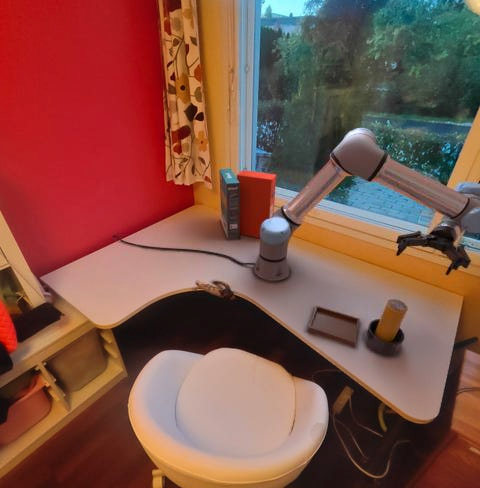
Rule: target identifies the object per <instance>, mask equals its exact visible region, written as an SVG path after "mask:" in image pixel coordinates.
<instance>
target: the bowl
mask: <svg viewBox="0 0 480 488" xmlns="http://www.w3.org/2000/svg"><path fill="white" fill-rule="evenodd" d="M380 319H381V318H376V319H373V320H371V321H370V322H369V323H368V326H367V329H366V331H365V334H364V342H365V345H366V346H367V347H368V348H369V349H370V350H371V351H373V352H374V353H376V354H378V355H381V356H385V357H392V356H395V355H396V354H397V353H398V352H399V351H400V349H401V347H402V345H403V343H404V341H405V333H404V331H403V329H402V328H401V326H400V327H399V329H398V332H397V334H396V336H395V338H394V340H393V342H392V343H388V342H385V341H382V340H380V339H379V338H377V337H376V336H375V335H374V334H375V331H376V329H377V326H378V324H379V321H380Z"/></svg>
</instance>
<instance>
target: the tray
mask: <svg viewBox="0 0 480 488" xmlns="http://www.w3.org/2000/svg"><path fill="white" fill-rule="evenodd" d="M359 326H360V318H359V317H356V316H352V315H349V314H346V313H343V312H339V311H336V310H333V309H329V308H326V307H324V306H319V305H315V307H314V310H313V313H312V315H311V319H310V321H309V325H308V327H307V332H309V333H312V334H314V335H318V336H321V337H323V338H326V339H329V340H332V341H334V342H338V343H341V344H343V345H347V346H350V347H353V348H354V347H355V345H356V343H357V337H358V330H359Z"/></svg>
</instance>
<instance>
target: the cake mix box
mask: <svg viewBox="0 0 480 488" xmlns="http://www.w3.org/2000/svg"><path fill="white" fill-rule="evenodd" d="M218 171H219V173H218V174H219V192H220V193H219V195H220V196H219V197H220V200H219V201H220V221H221V225H222V227H223V231H224V233H225V236H226V239H227V240H239V239H240V234H239V181H238V180H237V175H236V174H235V173H234V171H233V170H232V168H220V169H219V170H218Z"/></svg>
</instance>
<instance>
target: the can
mask: <svg viewBox="0 0 480 488" xmlns="http://www.w3.org/2000/svg"><path fill="white" fill-rule="evenodd" d="M408 310H409V309H408V306H407V304H406V303H405V302H403V301H402V300H400V299H396V298H392V299H388V300H387V301H386V304H385V306H384V309H383V311H382V314H381V316H380V318H379V319H380V321H379V324H378V326H377V329H376V331H375V334H374V335H375V336H376V337H377V338H379V339H380V340H382V341H385V342H388V343H392V342H393V340H394V338H395V336H396V334H397V332H398V329H399V327H400V328H401V325H402V323H403V320H404V318H405V316H406V314H407V312H408Z"/></svg>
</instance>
